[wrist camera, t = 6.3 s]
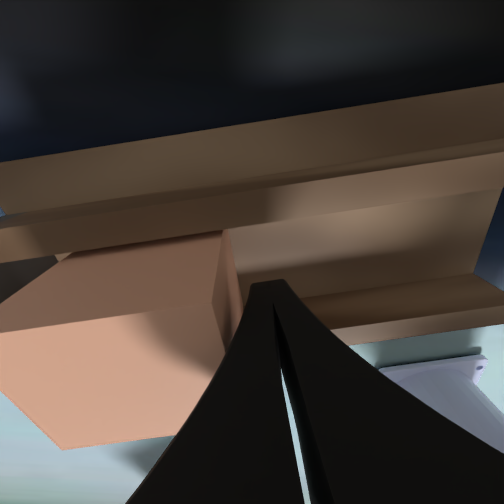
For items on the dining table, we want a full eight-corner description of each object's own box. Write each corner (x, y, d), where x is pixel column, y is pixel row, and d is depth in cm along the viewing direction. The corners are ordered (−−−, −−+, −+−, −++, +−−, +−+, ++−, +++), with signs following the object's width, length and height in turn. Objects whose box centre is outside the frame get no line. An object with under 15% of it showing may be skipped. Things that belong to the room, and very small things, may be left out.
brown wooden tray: (444, 306, 15) (531, 378, 11) (112, 353, 15) (61, 442, 11) (513, 82, 10) (749, 37, 5) (-2, 163, 10) (-194, 187, 6)
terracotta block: (242, 303, 13) (245, 425, 7) (135, 318, 13) (61, 450, 8) (225, 216, 10) (211, 302, 5) (95, 236, 11) (-52, 340, 5)
